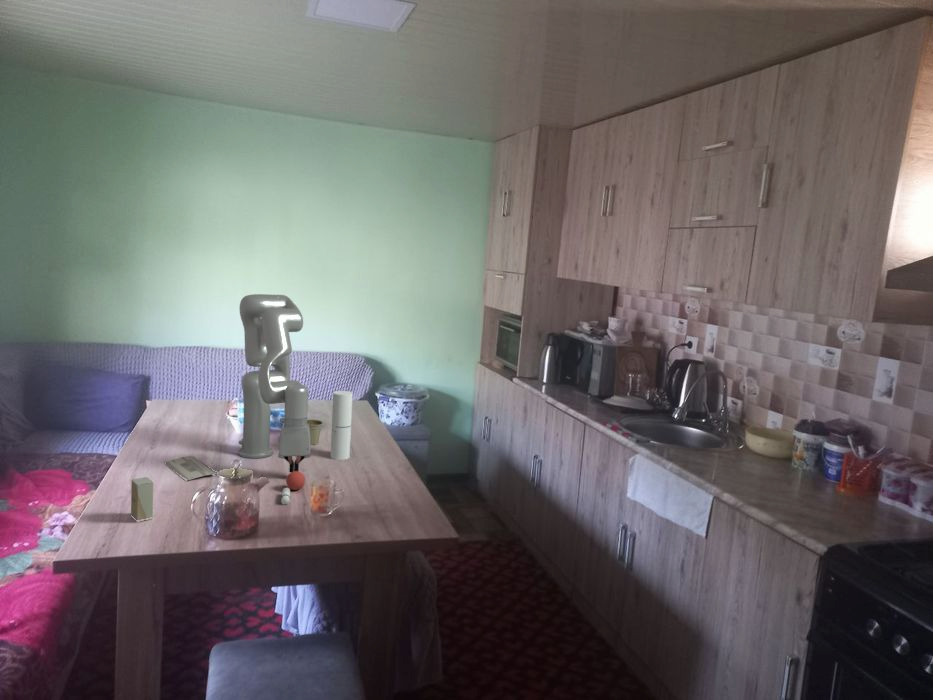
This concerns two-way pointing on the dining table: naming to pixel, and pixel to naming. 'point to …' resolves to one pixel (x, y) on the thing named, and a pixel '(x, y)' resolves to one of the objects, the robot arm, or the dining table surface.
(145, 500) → the box
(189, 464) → the newspaper
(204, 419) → the dining table surface
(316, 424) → the flower pot
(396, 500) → the dining table surface
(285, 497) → the white pin
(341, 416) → the cylindrical container
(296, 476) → the ball
